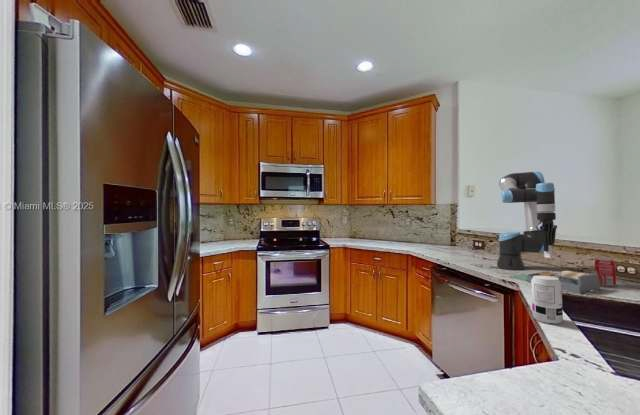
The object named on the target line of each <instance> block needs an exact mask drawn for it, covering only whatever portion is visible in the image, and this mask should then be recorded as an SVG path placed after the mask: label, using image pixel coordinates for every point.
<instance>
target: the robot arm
mask: <svg viewBox="0 0 640 415" xmlns="http://www.w3.org/2000/svg"><path fill="white" fill-rule="evenodd" d="M498 186H499V188H500V190H502V191H501V201H502V203H503V204H504V203H505V204H515V203H523V207H524V217H525V218H524V219H525V230H524V231H523V233H522V234H521V233H520V232H519V231H512V232H503V233H500V234H499V235H498V248H499V252H498V253H499V256H498V259H497V262H496V267H497V268H498V267H499V269H502V270H509V271H510V270H511V271H512V270H513V271H521V270H522V271H523V270H525V269H526V266H525V262H524V261H523V258H522V256H521V253H530V254H531V253H534V254H535V253H536V254H543V257H544V258H547V259H552V258H553V250H552V246H554V245H555V243H556V234H557V233H556V232H557V228H558V225H555V224H554V221H556V219H557V217H556V216H557V215H556V199H555V198H556V197H555V194H556V193H555V190H556V188H555V184H554V183H553V182H545V177H544V175H543V173H542V172H541V171H526V172H524V171H523V172H514V173H510V174H507V175H504V176H502V178H501V179H500V180H499V183H498Z"/></svg>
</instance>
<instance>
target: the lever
mask: <svg viewBox="0 0 640 415" xmlns="http://www.w3.org/2000/svg"><path fill="white" fill-rule="evenodd" d="M539 273H540V275H545V276H552V277H556V278H563V279H569V280H574V281H578V279H572V278H567V277H562V272H561V273H560V274H559V273H557V272H553V271H552V272H551V271H540V272H539Z"/></svg>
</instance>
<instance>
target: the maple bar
mask: <svg viewBox="0 0 640 415" xmlns="http://www.w3.org/2000/svg"><path fill="white" fill-rule="evenodd" d="M561 273H562V277H567V278H572V279H578V276H583V275H588V274H587V273H584V272H583V273H582V272H578V271H576V272H575V271H572V270H571V271H570V270H561Z"/></svg>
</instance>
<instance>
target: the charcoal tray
mask: <svg viewBox="0 0 640 415" xmlns="http://www.w3.org/2000/svg"><path fill="white" fill-rule="evenodd" d="M526 275H527V281H526V282H527V283H530V284H531V280H532V278H533V276H535V275H540V272H535V273H528V274H526ZM558 279H559V281H560V282H561V286H562V291H566V292H571V293H576V294H584V293H588V292H587V291H590V292H592V291H591V290H595V291H599V290H598V289H600V286H601V285H600V282H598V274H597V273H595V272H594V273H591V274H587V275H583V276H578V281H574V280H569V279H563V278H558Z"/></svg>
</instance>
